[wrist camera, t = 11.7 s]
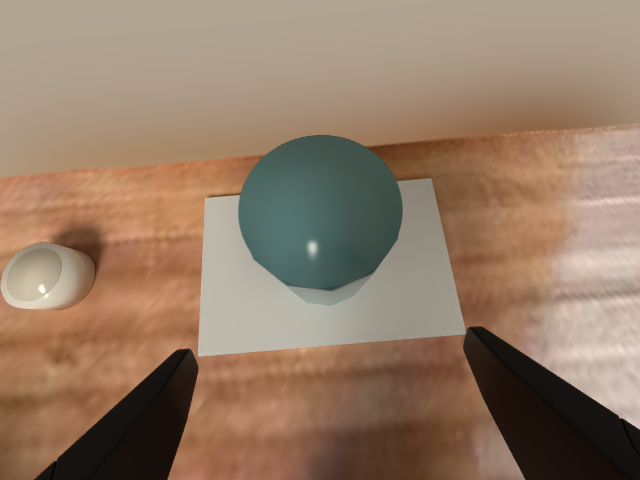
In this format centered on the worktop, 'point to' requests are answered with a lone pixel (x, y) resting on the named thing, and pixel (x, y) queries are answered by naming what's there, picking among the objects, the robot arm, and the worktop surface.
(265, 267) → the teal cover
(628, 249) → the worktop surface
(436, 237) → the grey mat
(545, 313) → the worktop surface
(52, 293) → the cream bowl
